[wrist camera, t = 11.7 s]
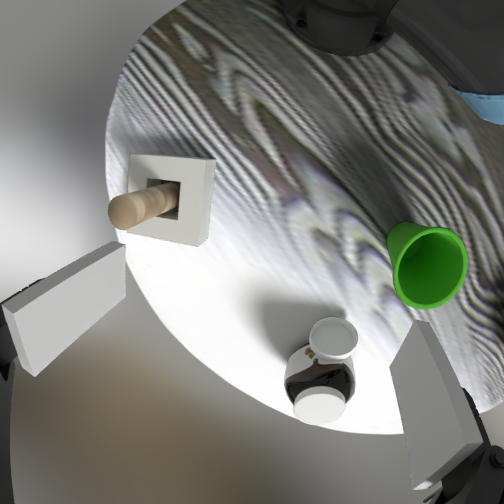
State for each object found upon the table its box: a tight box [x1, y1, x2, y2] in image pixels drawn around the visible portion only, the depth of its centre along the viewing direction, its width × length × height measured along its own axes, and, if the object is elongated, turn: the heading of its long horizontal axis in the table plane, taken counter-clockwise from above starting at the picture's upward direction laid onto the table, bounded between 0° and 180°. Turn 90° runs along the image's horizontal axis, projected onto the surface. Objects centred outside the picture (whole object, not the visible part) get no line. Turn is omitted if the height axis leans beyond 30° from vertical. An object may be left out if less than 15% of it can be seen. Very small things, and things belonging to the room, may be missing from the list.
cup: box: [387, 222, 468, 310], centre depth 30 cm, size 9×9×11 cm
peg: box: [108, 182, 181, 230], centre depth 33 cm, size 4×4×13 cm
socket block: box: [127, 153, 216, 247], centre depth 38 cm, size 11×11×4 cm
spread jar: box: [284, 317, 358, 425], centre depth 37 cm, size 12×11×12 cm
